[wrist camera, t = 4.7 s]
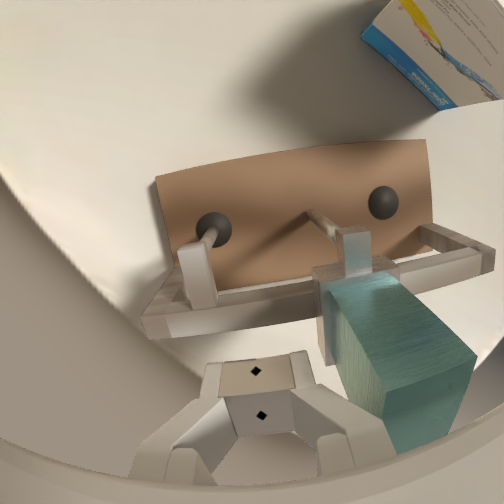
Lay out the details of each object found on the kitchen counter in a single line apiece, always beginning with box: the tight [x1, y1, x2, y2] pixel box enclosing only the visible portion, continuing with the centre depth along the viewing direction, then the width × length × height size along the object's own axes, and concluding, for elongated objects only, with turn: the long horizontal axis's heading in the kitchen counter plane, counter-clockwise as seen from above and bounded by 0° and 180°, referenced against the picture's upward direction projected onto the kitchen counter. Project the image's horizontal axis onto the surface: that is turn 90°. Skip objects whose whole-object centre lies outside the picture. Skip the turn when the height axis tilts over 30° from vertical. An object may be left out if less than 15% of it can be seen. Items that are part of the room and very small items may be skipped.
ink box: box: [361, 0, 504, 111], centre depth 9 cm, size 9×8×12 cm
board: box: [140, 139, 496, 340], centre depth 15 cm, size 8×18×8 cm, turn 100°
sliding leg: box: [307, 209, 478, 455], centre depth 11 cm, size 5×3×13 cm, turn 10°
